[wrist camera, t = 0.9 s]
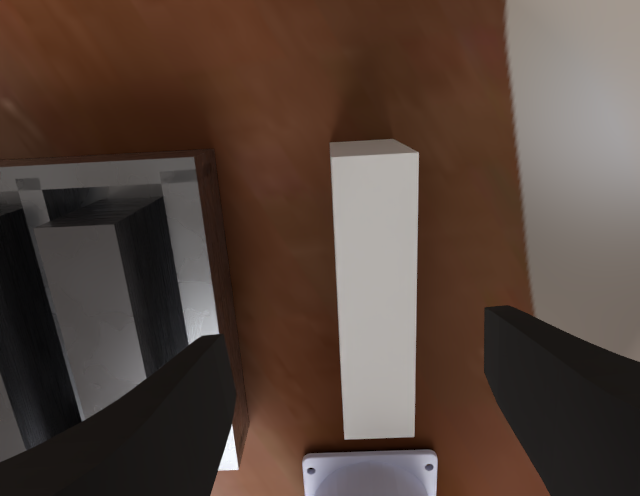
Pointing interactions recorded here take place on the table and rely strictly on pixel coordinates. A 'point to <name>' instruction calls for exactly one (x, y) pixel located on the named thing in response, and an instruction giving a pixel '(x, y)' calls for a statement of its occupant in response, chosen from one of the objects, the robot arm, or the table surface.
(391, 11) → the table surface
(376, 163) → the white rectangular block
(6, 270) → the rack
